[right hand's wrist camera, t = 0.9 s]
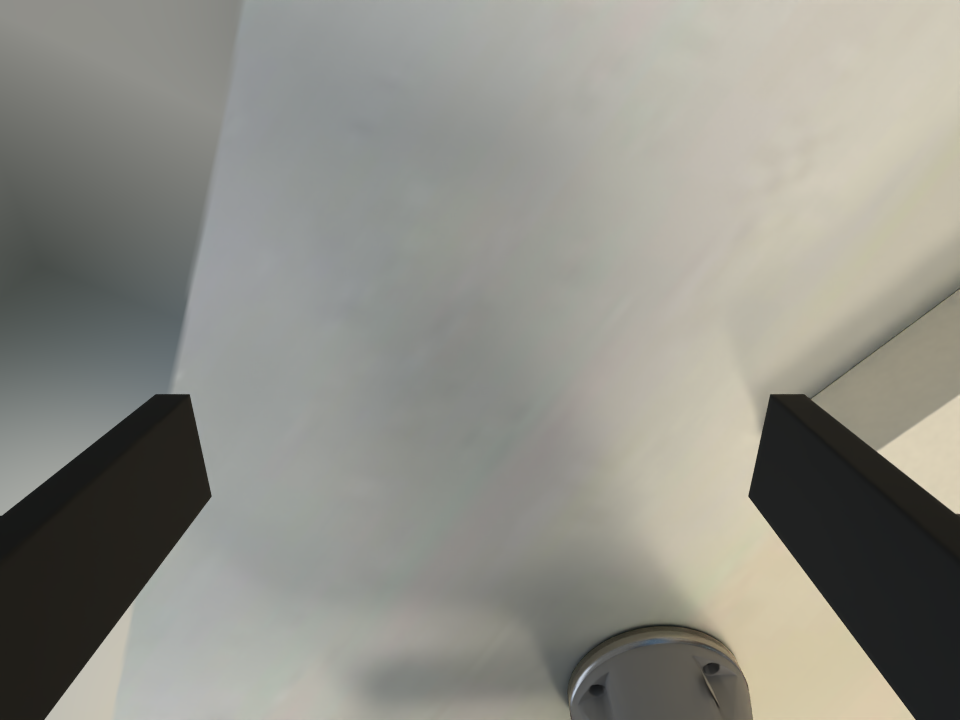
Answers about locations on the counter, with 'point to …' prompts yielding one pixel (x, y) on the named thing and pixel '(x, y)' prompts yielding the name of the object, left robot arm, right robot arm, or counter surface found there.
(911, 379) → the wide beam
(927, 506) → the right robot arm
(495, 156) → the counter surface
